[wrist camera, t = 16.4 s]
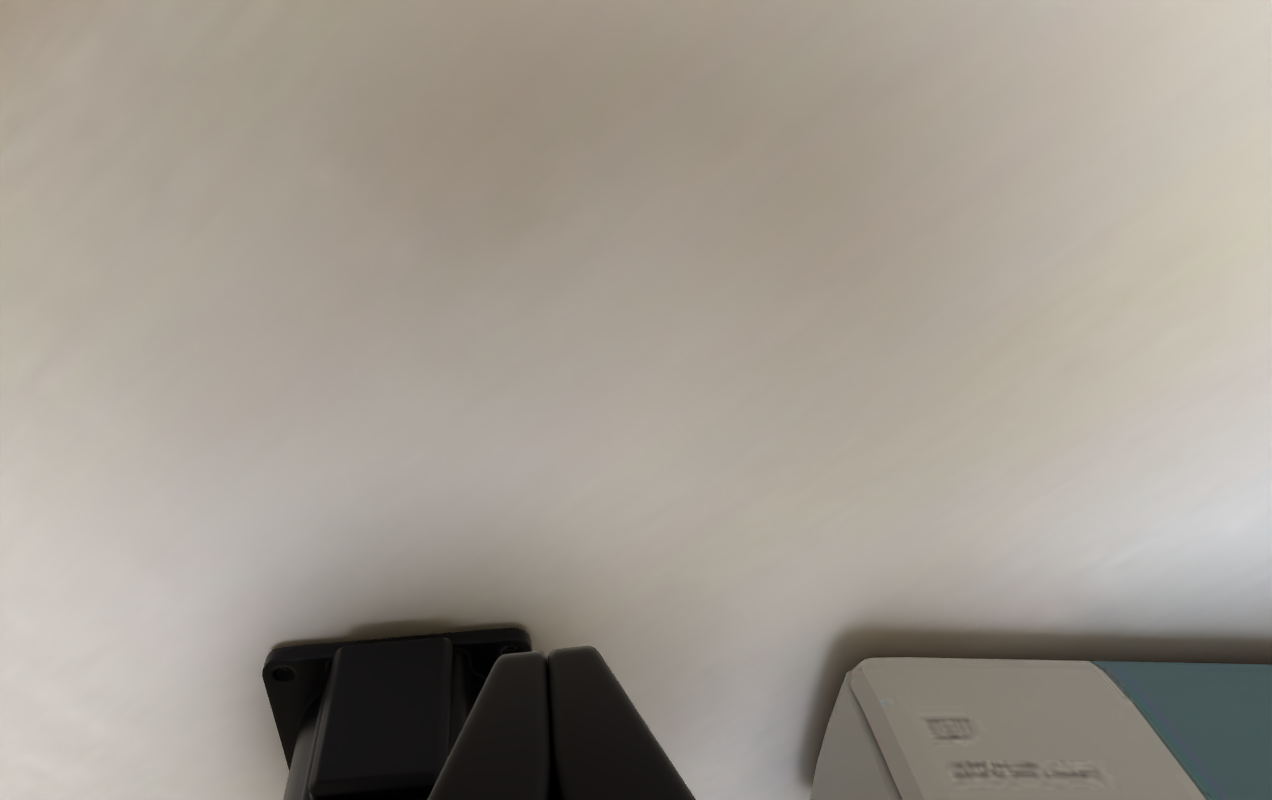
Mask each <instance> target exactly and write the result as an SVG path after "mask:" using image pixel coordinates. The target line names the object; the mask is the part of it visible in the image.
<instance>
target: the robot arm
mask: <svg viewBox="0 0 1272 800" xmlns="http://www.w3.org/2000/svg"><path fill="white" fill-rule="evenodd" d="M511 646H512V647H517V648H516V649H513V650H510V649H506V648H507V647H511ZM280 667H288V668H290V669H289V670H287V669H282V668H280ZM262 676H263V680H264V683H265V687H266V690H267V694H268V697H269V701H270V705H271V708H272V712H273V715H274V719H275V722H276V726H277V729H278V733H279V736H280V740H281V743H282V747H283V750H284V754H285V757H286V761H287V764H288V768H289V771H290V772H289V776H288V781H287V786H286V790H285V795H284V799H283V800H696V799H695V798H694V796H693V795H692V793H691V792H690V790H689V789H688V787H687V786H686V784H685V783H684V781H683V779H682V778H681V776H680V775H679V773H678V772H677V770H676V769H675V767H674V766H673V764H672V763H671V761H670V760H669V758H668V757H667V755H666V754H665V752H664V751H663V749H662V748H661V746H660V744H659V743H658V741H657V740H656V738H655V737H654V735H653V734H652V732H651V731H650V729H649V728H648V726H647V725H646V723H645V722H644V720H643V719H642V717H641V716H640V714H639V712H638V711H637V709H636V708H635V706H634V705H633V703H632V702H631V700H630V699H629V697H628V696H627V694H626V693H625V691H624V690H623V688H622V687H621V685H620V684H619V682H618V681H617V679H616V677H615V676H614V674H613V673H612V671H611V670H610V668H609V667H608V665H607V664H606V662H605V661H604V659H603V658H602V656H601V655H600V653H599V652H598V651H597V650H596V649H595V648H593V647H591V646H582V647H572V648H562V649H555V650H552V651H551V652H550V653H549V655H548V662H547V657H546V655H545V654H544V653H543V652H541V651H532V643H531V638H530V636H529V634H528V633H526V632H525V631H524V630H521V629H519V628H502V629H490V630H479V631H467V632H456V633H444V634H433V635H421V636H410V637H398V638H387V639H375V640H364V641H352V642H341V643H329V644H318V645H306V646H295V647H283V648H279V649H275V650H273V651H272V652H270V653H269V654H268V656H267V657H266V660H265V663H264V667H263V674H262Z"/></svg>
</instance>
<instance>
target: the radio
mask: <svg viewBox="0 0 1272 800" xmlns="http://www.w3.org/2000/svg"><path fill="white" fill-rule="evenodd" d="M810 800H1272V665H1270V664H1221V663H1171V662H1121V661H1091V662H1089V661H1068V660H1018V659H968V658H918V657H892V658H868V659H864V660H863V661H861V662H860V663H859V664H858V665H857V666H856V667H855V668H854V669H852V670H851V671H848V672H847V673H846V676H845V678H844V681H843V684H842V687H841V689H840V692H839V695H838V698H837V700H836V703H835V706H834V709H833V711H832V714H831V717H830V720H829V722H828V726H827V729H826V733H825V736H824V740H823V743H822V747H821V750H820V754H819V757H818V761H817V764H816V770H815V776H814V781H813V787H812V793H811V798H810Z"/></svg>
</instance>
